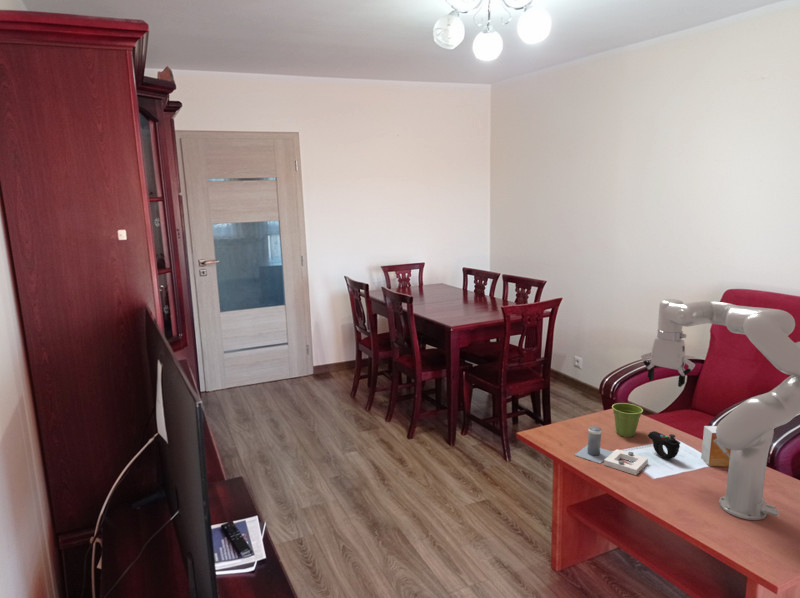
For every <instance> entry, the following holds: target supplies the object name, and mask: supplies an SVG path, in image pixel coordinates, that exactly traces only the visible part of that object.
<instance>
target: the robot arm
mask: <svg viewBox="0 0 800 598" xmlns="http://www.w3.org/2000/svg"><path fill="white" fill-rule="evenodd" d="M705 324H712V325H719V326H724V327H726V328H727V330H728V331H729V332H730V333H733V334H739V335H745V336H746V337H747V339H748V340H749V341H750V343H751V344H752V345H754V347H755V348H756V349H757V350H758V351H759V352H760V353H761V354H762V355H763V357H765V358H766V359H767V360H768V361H769V363H771V364H772V366H773V367H774V368H776V370H778V371H780V373H783V374H785V375H788V377H786V378H785V379H784V380H783V381H782V382H780V384H778V385H777V386H776V387H774V388H773V389H772V390H770V391H768V392H765V393H763V394H758V395H755V396H752V397H750V398H748V399H746V400H744V401H743V402H741V403H739V405H738V406H736V407H735V408H734V409H733V410H731V411H730V412H729V413H728V414H727V415H726V416H724V417H723V418H722V419H721V420H720V421H719V422H718V424H717V425H716V426H717V429H716V436H717V439H718V441H719V442H720V443H721V445H723V446H724V447H725V448H727V449H730V450H731V452H730V459H729V467H728V471H727V481H726V489H725V490H726V491H725V495H723V496H721V497H720V498H719V502H718V504H719V506H720V508H721V509H723V511H725V512H726V513H728V514H730V515H731V516H734V517H736V518H740V519H745V520H749V521H759V520H763V519H765V518H767V516H768V515H770V516H774V517H777V518H778V517H779V515H780V514H779V513H780V510H779V509H776V508H777V507H776V505H772V504H769V503H767V502H765V500H766V497H763V496H764V489H765V488H764V486H765V479H766V470H767V465H768V456H769V451H770V448H771V444H772V441H773V438H774V433H775V432H774V429H775V428H776V429H777V428H778V427H780V426H785V425H786V424H788V423H789V422H791V420H794V418H795V417H796V416H798V415H799V414H800V341H797V342H794V341H793V340H792V339H791V338H790V337H789V335H791V334H792V333H793V332H794V330H795V327H796V321H795V318H794V317H793V315H792V314H791V313H789V312H788V311H785V310H782V309H777V308H769V307H767V308H766V307H757V306H755V307H754V306H747V305H738V304H737V305H736V304H733V303H729V302H720V301H707V300H703V301H695V302H688V303H687V302H685V303H684V302H683V301H682V300H679V299H675V298H674V299H673V298H667V299H666V298H665V299H662V300H660V302H659V309H658V321H657V334H656V336H655V338H654V340H653V344H652V349H651V352H647V353H645V354H642V355H641V356H640V358H641V360H642V361H643V364H644V365H645V367H646V369H647V378H648V381H650V382H651V381H653V380H654V378H655V370H656V369H655V368H654V367H655V366H656V367H661V368H667V369H672V370H677V371H678V373H679V374H680V375H678V385H677V386H678V387H679V388H681V387H682V386H684V385H685V383H686V375H687V374H689V373H690V372H691V371H693V369H694V368H695V366H696V364H695V363H694V362H692V361H691V360H690V359H688V358H686V346H685V345H686V344H685V340H684V339H686V338H687V334H686V333H684V332H683V327H693V326H699V325H705ZM648 358H650V361H649V360H648ZM685 365H687V366H688V367H687V369H685ZM767 514H768V515H767Z"/></svg>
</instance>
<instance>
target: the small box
mask: <svg viewBox="0 0 800 598" xmlns="http://www.w3.org/2000/svg"><path fill="white" fill-rule="evenodd" d="M717 426H718V425H704V426H703V434H702V436H703V438H702V444H701V445H702V446H701V456H700V458H701V460H702V459H703V460H704V461H703V460H702V461H703V462H704V463H705V464H706V465H707V466H708V467H728V468H729V459H730V452H731V450H730V449H727V448H725V447H724V446H723V445H721V443H720V442H719V441H718V439H717V436H716V429H717Z"/></svg>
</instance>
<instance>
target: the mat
mask: <svg viewBox="0 0 800 598" xmlns="http://www.w3.org/2000/svg"><path fill="white" fill-rule="evenodd" d="M587 451H588V444H586V446H584V447H583V448H581V449H580V450H579V451H577V452H576V453H575V454H574V456H575V457H578V458H581V459H584V460H587V461H589V462H590V461H591V462H593V463H595V464H600V465H602V463H604V459H606V458H607V457H608V456H609V455H610V454H611V453H613V452H614V451H611V450H608V449H605V448H602V447H600V455H599V456H592V455H589V454H588V453H587Z"/></svg>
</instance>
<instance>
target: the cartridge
mask: <svg viewBox="0 0 800 598" xmlns="http://www.w3.org/2000/svg"><path fill="white" fill-rule="evenodd" d="M587 431H588V434H587V435H588V437H587V445H588V451H587V453H588V454H589V455H592V456H599V455H600V448H601V441H602V428H601V427H599V426H596V425H590V426H588V430H587Z"/></svg>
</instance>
